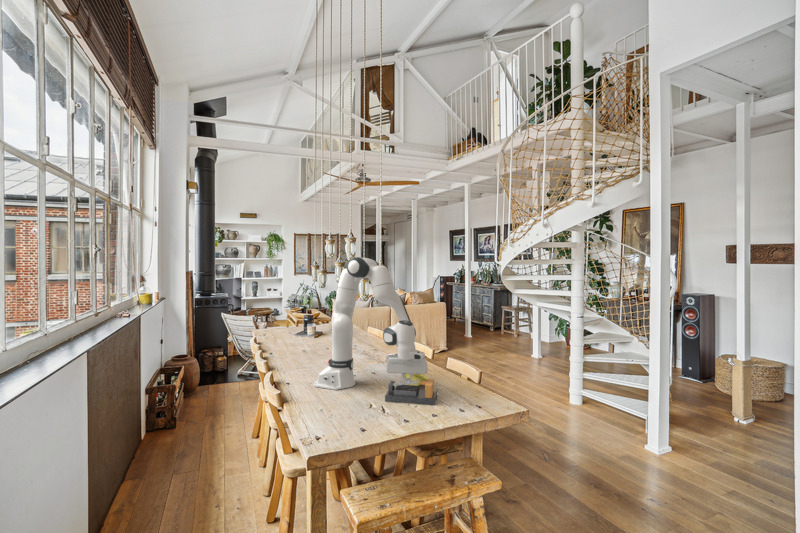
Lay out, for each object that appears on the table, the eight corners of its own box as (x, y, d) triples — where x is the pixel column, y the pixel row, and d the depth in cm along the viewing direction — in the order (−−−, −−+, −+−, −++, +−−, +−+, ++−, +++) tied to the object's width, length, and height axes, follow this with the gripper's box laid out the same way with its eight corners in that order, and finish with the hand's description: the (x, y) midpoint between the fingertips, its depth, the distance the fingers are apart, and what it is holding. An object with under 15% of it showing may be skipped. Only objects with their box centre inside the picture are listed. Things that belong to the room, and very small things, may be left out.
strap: (390, 386, 193) (389, 384, 193) (391, 385, 195) (390, 382, 195) (416, 383, 190) (416, 381, 190) (417, 382, 193) (417, 379, 193)
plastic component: (435, 382, 210) (420, 377, 206) (429, 395, 210) (415, 390, 205) (418, 370, 228) (404, 364, 224) (412, 382, 227) (398, 376, 223)
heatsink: (385, 401, 189) (384, 386, 189) (390, 393, 200) (390, 379, 200) (434, 405, 184) (434, 389, 184) (437, 397, 195) (437, 382, 195)
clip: (418, 397, 186) (418, 384, 186) (422, 390, 196) (422, 378, 196) (431, 398, 185) (431, 385, 185) (434, 391, 195) (434, 379, 195)
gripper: (384, 355, 191) (385, 383, 192) (426, 356, 187) (426, 385, 187) (387, 352, 198) (388, 379, 198) (427, 353, 193) (428, 380, 194)
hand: (407, 382), depth 193 cm, fingers closed, pressing on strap
